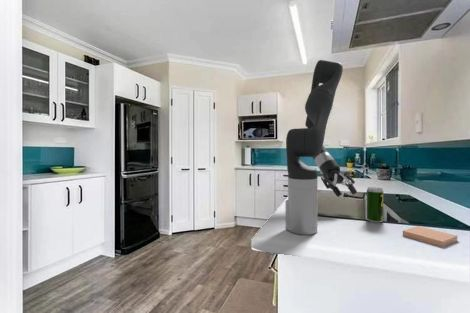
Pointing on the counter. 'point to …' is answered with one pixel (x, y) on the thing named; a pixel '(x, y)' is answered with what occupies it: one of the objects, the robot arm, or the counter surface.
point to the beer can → (374, 204)
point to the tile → (430, 236)
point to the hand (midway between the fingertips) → (347, 194)
